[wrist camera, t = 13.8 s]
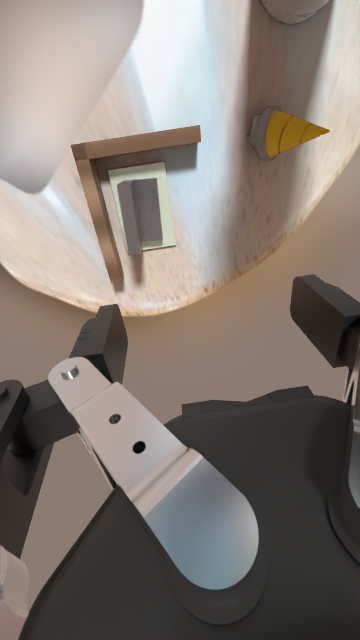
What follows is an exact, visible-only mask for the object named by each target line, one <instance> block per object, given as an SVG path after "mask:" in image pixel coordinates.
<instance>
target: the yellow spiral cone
mask: <svg viewBox="0 0 360 640" xmlns="http://www.w3.org/2000/svg"><path fill="white" fill-rule="evenodd" d="M329 131H330V130H328V129H325V128H323V127H320V126H317V125H315V124H312V123H310V122H307V121H304V120H302V119H299V118H297V117H294V116H291V115H289V114H286V113H284V112H282V111H281V109H280V107H278V106H275V107H268V108H266V109H265V111H264V112H263V114H262V115H254V119H253V124H252V128H251V132H250V135H247V136H246V137H247V139H248V140H249V141H250V143H251V144H252V145H253V147H254V148H255V149H256V151H257V152H258V155H259V157H260V159H261V160H272V159H273V158H274V157H275V156H276V154H279V153H281V152H283V151H286V150H288V149H291V148H293V147H295V146H298V145H299V143H301V144H302V143H305V142H307V141H309V140H312V139H314V138H316V137H319V136H320V135H321V134H322V135H323V134H326V133H328V132H329Z"/></svg>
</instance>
